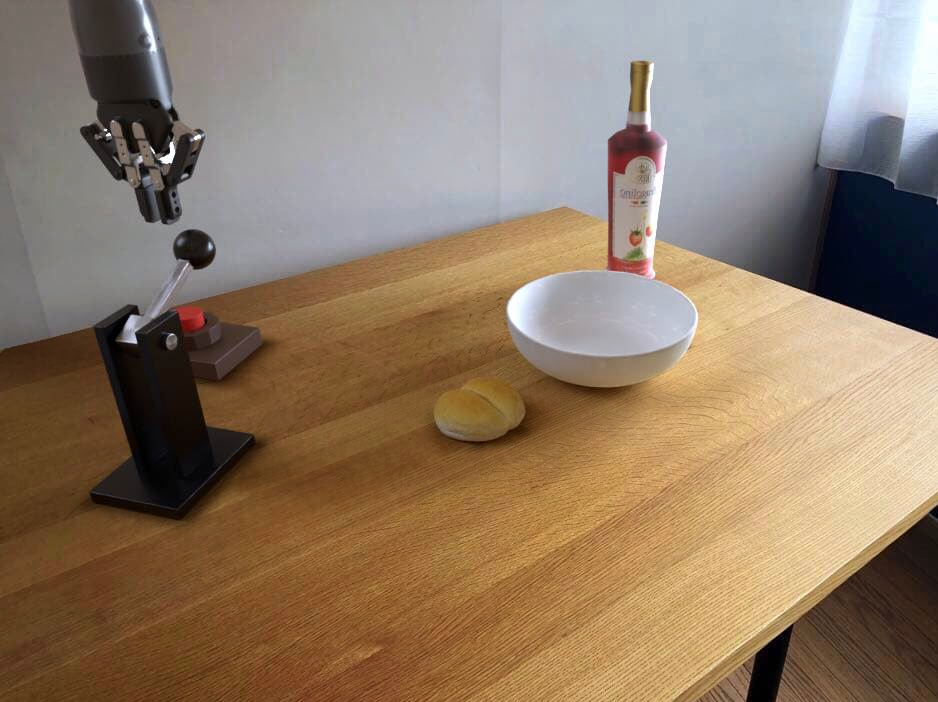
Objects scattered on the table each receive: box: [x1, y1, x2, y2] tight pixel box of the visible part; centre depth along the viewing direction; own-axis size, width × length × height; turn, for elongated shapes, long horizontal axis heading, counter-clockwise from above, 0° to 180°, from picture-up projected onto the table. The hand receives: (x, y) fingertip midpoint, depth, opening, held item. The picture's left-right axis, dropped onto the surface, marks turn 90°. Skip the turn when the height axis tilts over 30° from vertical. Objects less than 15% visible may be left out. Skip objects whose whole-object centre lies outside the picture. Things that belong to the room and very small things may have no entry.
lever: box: [115, 228, 217, 359], centre depth 75 cm, size 13×4×4 cm, turn 164°
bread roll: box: [433, 376, 527, 442], centre depth 86 cm, size 8×9×4 cm
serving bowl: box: [505, 269, 699, 388], centre depth 95 cm, size 21×21×7 cm
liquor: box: [603, 60, 668, 279], centre depth 109 cm, size 7×7×28 cm
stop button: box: [173, 305, 205, 332], centre depth 96 cm, size 4×4×2 cm
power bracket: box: [88, 303, 257, 521], centre depth 75 cm, size 12×9×16 cm
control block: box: [183, 310, 263, 382], centre depth 98 cm, size 12×9×4 cm
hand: (163, 220), depth 90 cm, fingers closed
